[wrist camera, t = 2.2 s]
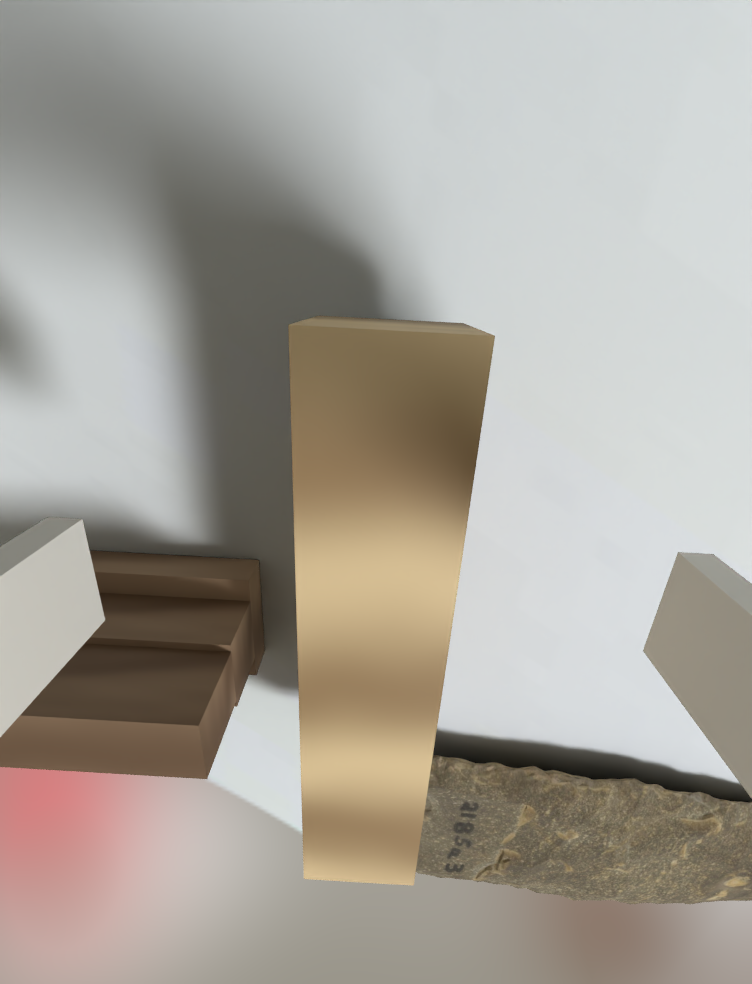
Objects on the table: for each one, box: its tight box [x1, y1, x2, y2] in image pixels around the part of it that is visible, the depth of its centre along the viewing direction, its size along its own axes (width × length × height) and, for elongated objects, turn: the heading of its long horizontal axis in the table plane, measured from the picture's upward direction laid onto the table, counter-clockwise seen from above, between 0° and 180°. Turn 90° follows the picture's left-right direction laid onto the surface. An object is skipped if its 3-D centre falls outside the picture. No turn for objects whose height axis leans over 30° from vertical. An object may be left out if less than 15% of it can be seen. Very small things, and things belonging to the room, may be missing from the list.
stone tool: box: [416, 755, 752, 904], centre depth 25 cm, size 11×3×25 cm
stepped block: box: [0, 550, 265, 779], centre depth 17 cm, size 5×10×7 cm, turn 87°
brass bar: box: [288, 316, 495, 885], centre depth 14 cm, size 19×4×4 cm, turn 177°
